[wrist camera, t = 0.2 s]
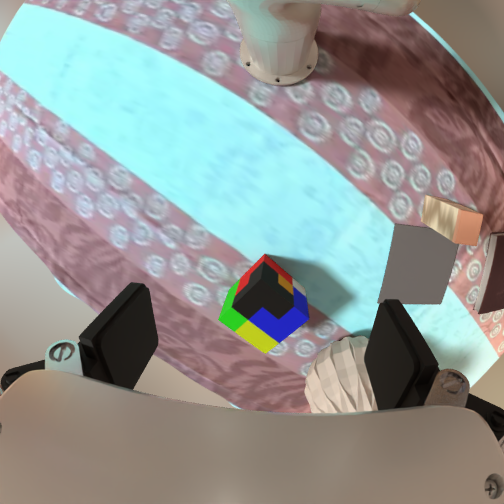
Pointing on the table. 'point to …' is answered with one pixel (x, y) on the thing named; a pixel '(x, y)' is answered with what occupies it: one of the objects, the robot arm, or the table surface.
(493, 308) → the book
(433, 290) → the mat
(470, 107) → the table surface
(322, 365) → the vase
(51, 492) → the robot arm
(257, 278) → the puzzle toy
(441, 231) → the tall block
